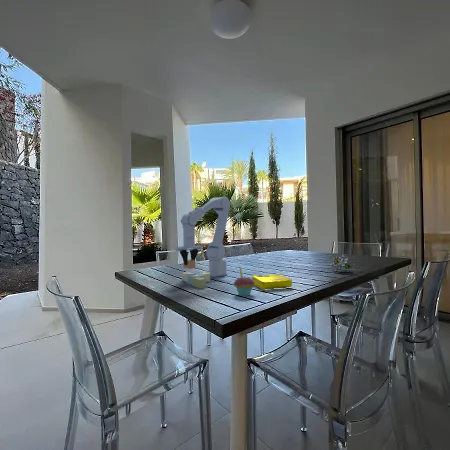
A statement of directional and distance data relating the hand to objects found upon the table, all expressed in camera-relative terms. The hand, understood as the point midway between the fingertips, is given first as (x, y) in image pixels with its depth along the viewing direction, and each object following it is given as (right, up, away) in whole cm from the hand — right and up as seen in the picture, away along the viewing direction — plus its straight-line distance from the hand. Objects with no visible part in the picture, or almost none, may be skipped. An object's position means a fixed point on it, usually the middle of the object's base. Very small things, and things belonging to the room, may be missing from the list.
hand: (189, 264), depth 150 cm
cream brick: (+9, -9, +1) cm, 12 cm away
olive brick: (+6, -9, -12) cm, 16 cm away
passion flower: (+88, -8, +25) cm, 91 cm away
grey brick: (-1, -9, +1) cm, 9 cm away
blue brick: (+4, -9, -6) cm, 11 cm away
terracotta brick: (0, -2, 0) cm, 2 cm away
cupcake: (+26, -9, -27) cm, 39 cm away
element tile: (+40, -9, -12) cm, 43 cm away
